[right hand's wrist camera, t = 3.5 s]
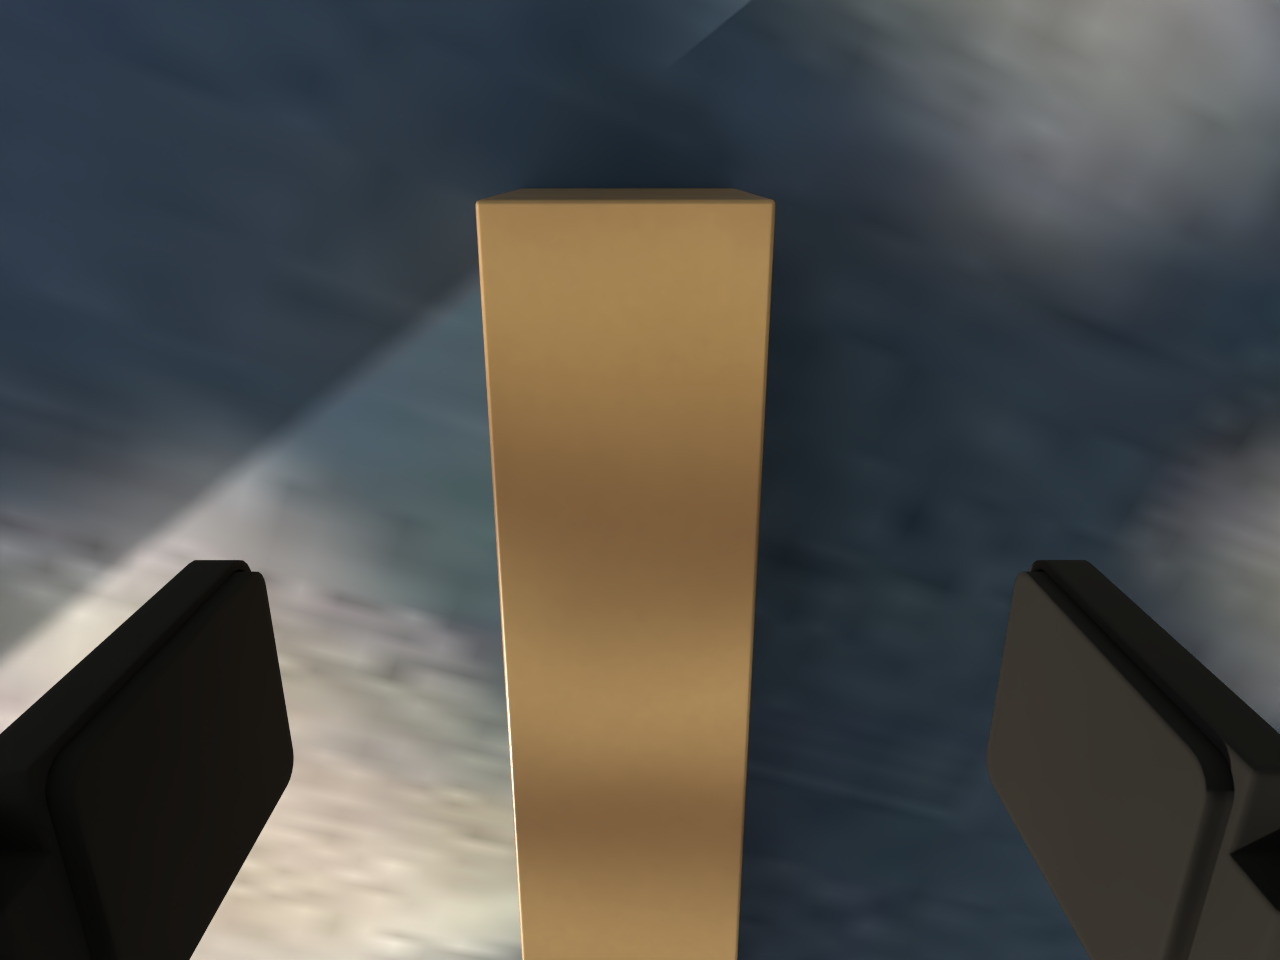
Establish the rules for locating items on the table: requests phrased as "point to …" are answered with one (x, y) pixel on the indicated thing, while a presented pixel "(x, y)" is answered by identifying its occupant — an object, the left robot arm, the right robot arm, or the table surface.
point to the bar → (627, 553)
